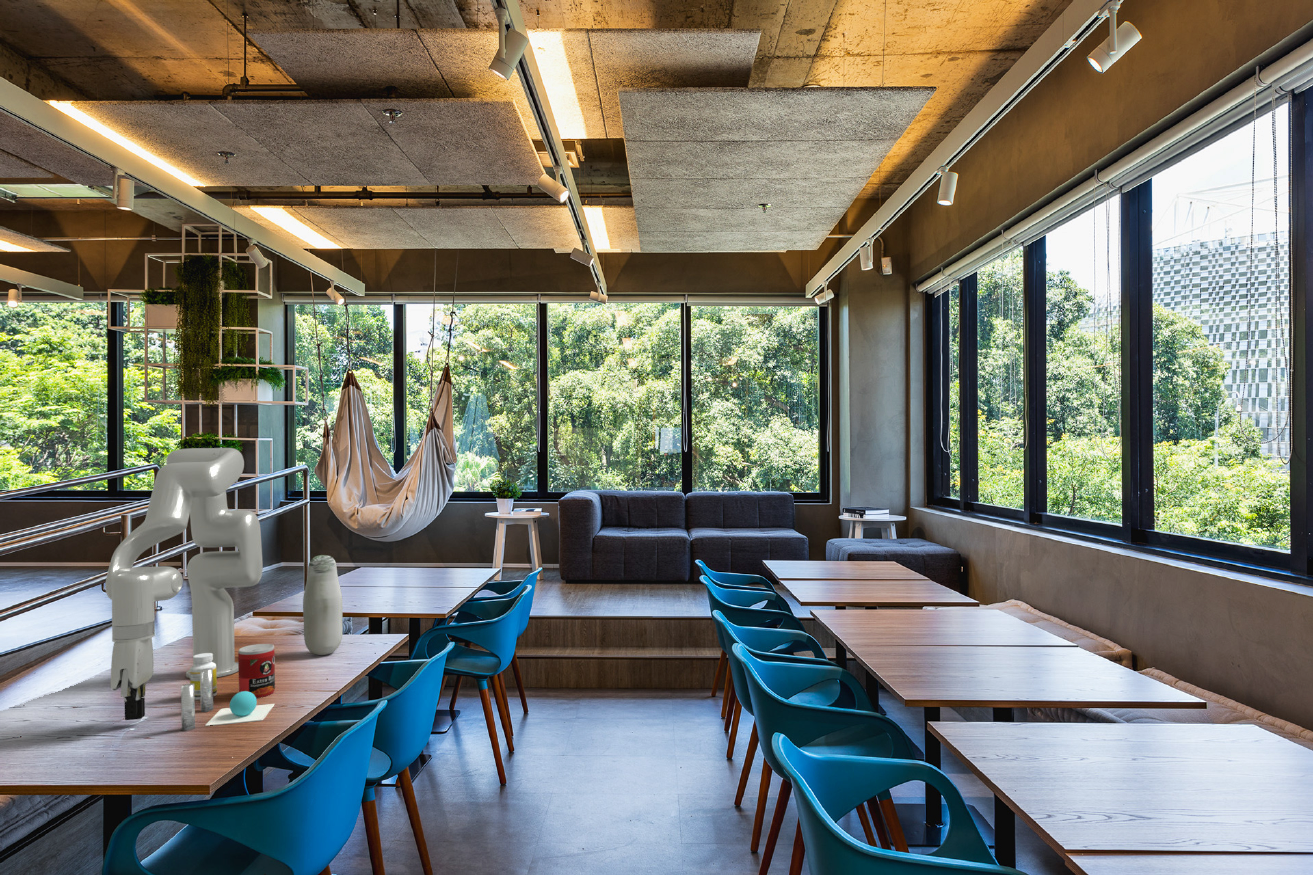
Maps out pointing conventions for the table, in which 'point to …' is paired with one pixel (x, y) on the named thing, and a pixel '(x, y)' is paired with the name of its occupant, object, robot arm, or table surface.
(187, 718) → the post
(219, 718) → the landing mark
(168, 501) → the robot arm
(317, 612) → the grey bottle
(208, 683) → the post
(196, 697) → the supplement bottle
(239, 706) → the ball
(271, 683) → the canned food
